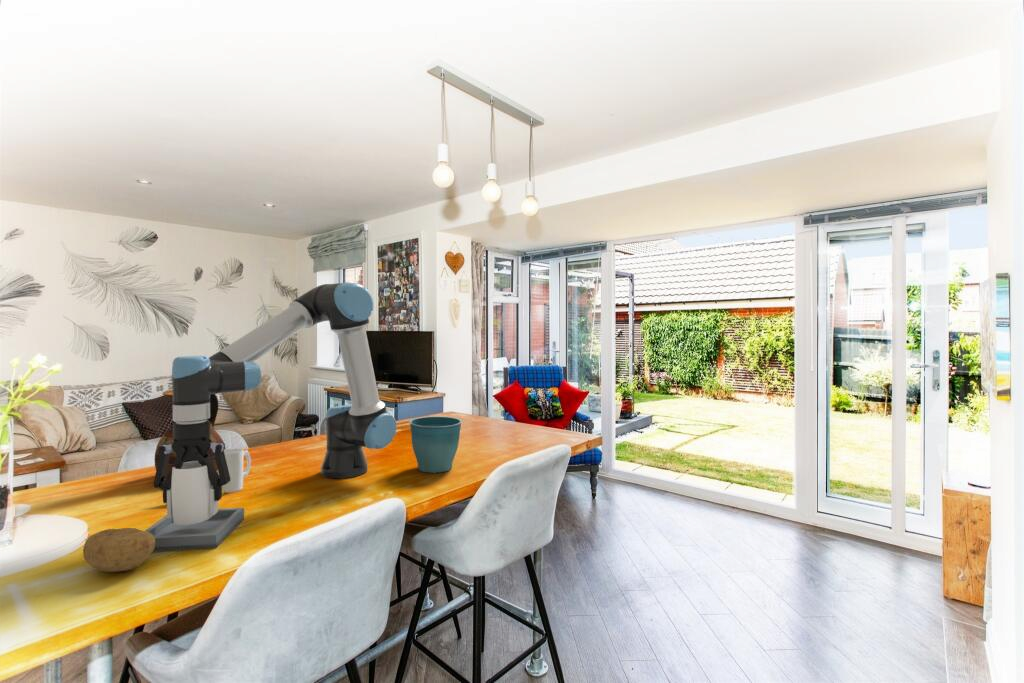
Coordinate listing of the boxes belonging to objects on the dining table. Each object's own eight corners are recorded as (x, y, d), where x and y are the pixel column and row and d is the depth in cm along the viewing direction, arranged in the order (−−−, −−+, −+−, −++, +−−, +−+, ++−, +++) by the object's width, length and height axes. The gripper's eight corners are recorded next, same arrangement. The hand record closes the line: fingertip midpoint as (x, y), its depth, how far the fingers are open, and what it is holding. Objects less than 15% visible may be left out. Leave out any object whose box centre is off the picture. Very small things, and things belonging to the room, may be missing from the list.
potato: (113, 555, 108) (112, 519, 108) (168, 561, 105) (168, 524, 105) (65, 577, 98) (64, 537, 98) (125, 584, 96) (124, 544, 95)
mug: (228, 494, 147) (227, 454, 146) (213, 491, 150) (212, 452, 149) (258, 485, 156) (257, 447, 155) (243, 482, 159) (243, 444, 158)
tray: (244, 519, 128) (244, 507, 128) (216, 548, 112) (216, 534, 112) (172, 522, 126) (172, 511, 126) (132, 553, 109) (132, 539, 109)
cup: (182, 533, 113) (181, 472, 112) (165, 525, 117) (163, 466, 117) (221, 521, 120) (219, 463, 120) (203, 514, 124) (201, 458, 124)
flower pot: (471, 466, 178) (471, 419, 178) (438, 479, 163) (438, 428, 162) (433, 459, 188) (433, 414, 187) (398, 470, 173) (398, 422, 172)
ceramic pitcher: (140, 481, 159) (139, 388, 158) (200, 465, 177) (199, 381, 176) (181, 489, 151) (180, 391, 150) (240, 471, 170) (239, 384, 169)
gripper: (245, 417, 123) (246, 506, 124) (151, 419, 120) (152, 511, 121) (233, 422, 116) (234, 518, 117) (132, 425, 112) (134, 523, 113)
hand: (193, 514), depth 119 cm, fingers open, 9 cm apart
